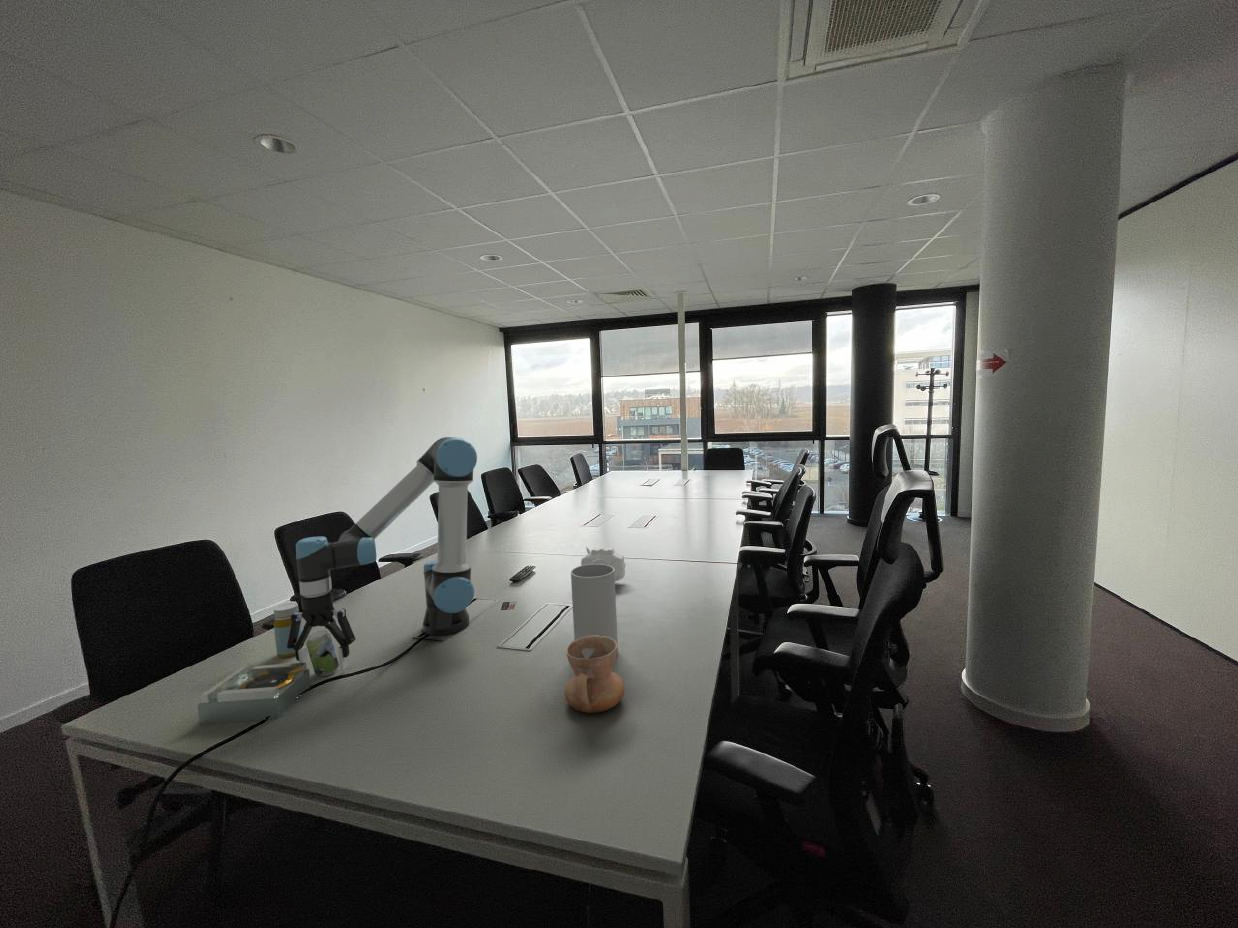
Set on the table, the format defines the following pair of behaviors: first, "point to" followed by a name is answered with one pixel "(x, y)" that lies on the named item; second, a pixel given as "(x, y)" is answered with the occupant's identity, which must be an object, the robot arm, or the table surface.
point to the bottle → (284, 628)
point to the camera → (606, 560)
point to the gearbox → (254, 693)
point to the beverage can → (322, 653)
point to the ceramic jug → (593, 675)
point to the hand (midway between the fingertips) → (324, 669)
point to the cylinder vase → (594, 602)
